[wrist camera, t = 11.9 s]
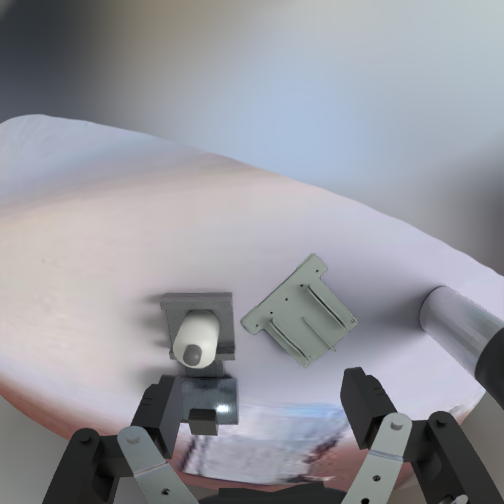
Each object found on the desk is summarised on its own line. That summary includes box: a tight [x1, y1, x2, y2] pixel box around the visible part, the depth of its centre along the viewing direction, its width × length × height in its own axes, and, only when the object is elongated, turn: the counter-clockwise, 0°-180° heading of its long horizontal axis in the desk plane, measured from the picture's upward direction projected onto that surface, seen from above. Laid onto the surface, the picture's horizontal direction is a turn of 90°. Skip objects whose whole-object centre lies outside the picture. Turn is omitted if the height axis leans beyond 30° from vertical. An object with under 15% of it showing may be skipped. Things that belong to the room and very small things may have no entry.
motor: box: [160, 292, 239, 436], centre depth 38 cm, size 11×22×10 cm, turn 2°
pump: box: [173, 309, 220, 368], centre depth 37 cm, size 6×6×9 cm
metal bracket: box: [241, 254, 359, 368], centre depth 41 cm, size 14×6×15 cm
